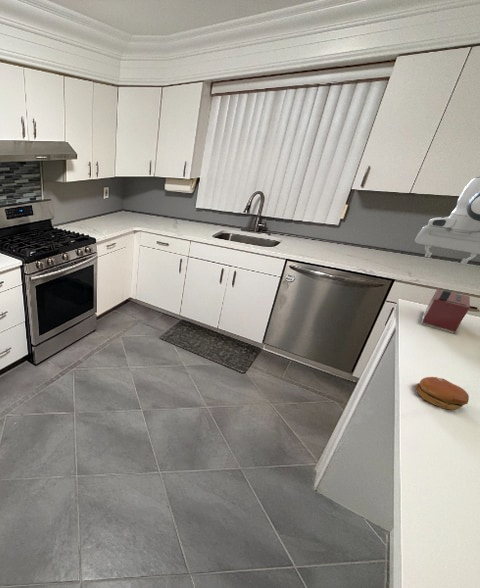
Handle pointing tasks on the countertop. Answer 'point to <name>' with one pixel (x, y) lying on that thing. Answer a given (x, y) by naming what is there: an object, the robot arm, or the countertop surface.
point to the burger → (442, 393)
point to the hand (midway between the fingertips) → (444, 260)
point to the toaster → (446, 311)
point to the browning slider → (445, 294)
